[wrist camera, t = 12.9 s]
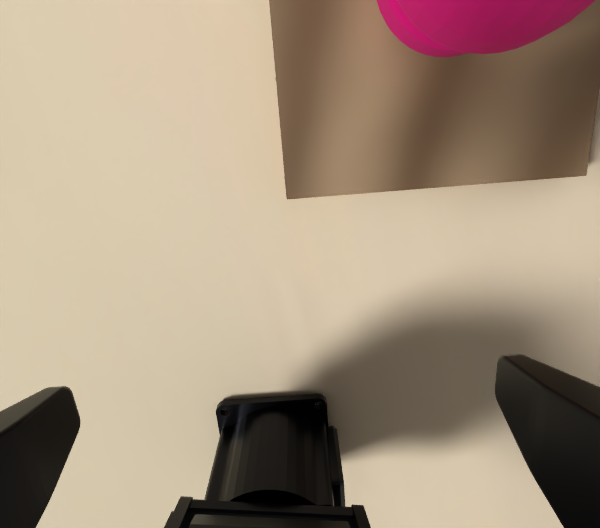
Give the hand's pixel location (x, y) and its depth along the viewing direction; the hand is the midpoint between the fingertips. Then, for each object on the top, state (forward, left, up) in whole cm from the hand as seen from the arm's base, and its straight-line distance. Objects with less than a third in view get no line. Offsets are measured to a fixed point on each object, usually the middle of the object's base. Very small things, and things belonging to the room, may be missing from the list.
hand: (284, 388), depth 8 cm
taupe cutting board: (+7, +9, -13) cm, 17 cm away
